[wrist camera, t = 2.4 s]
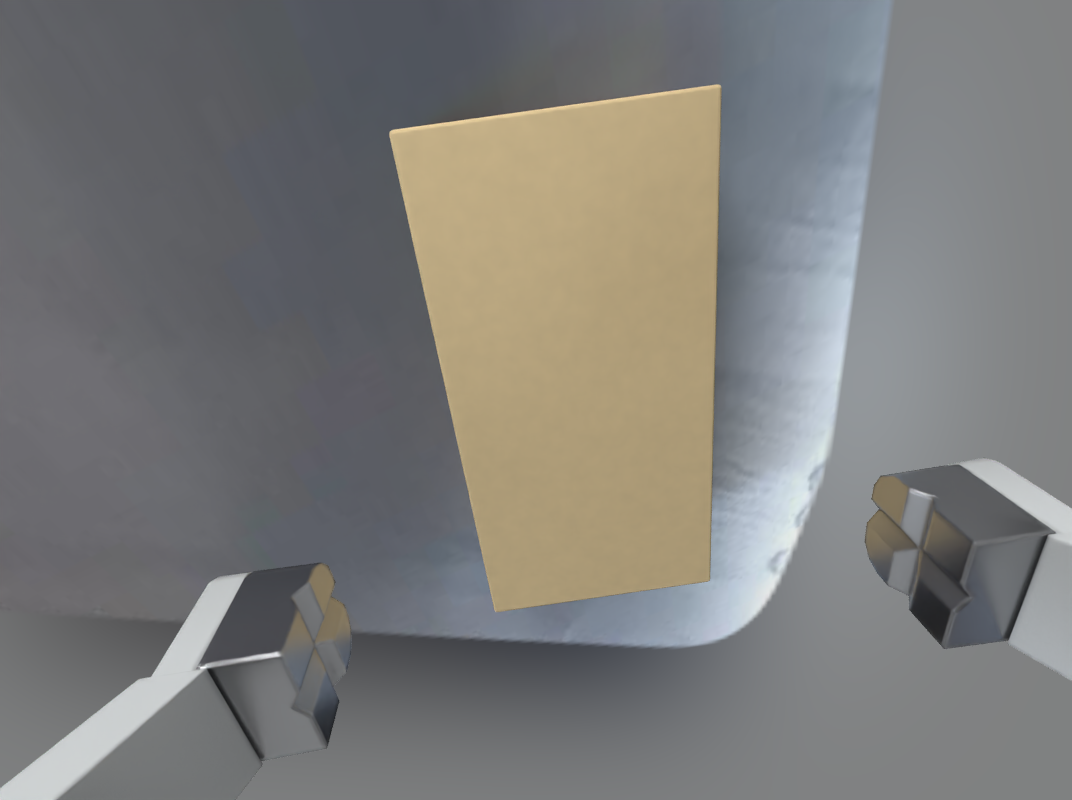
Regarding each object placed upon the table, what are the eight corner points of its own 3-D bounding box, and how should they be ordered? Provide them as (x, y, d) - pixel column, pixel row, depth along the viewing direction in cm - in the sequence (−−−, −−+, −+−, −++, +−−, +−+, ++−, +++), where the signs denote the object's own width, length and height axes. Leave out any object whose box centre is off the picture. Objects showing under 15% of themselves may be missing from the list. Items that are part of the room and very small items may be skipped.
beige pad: (673, 92, 12) (723, 83, 10) (678, 513, 18) (710, 582, 15) (410, 129, 12) (387, 130, 10) (494, 540, 18) (494, 613, 15)
